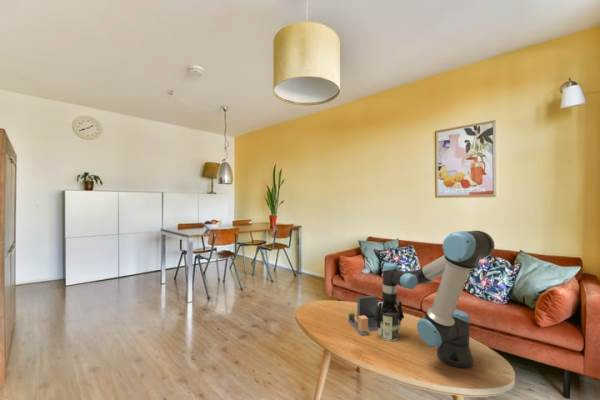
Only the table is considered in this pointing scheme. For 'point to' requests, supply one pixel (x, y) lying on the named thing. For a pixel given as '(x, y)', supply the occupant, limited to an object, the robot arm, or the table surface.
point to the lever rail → (355, 324)
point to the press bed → (368, 310)
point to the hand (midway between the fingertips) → (388, 332)
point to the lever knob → (362, 323)
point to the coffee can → (390, 325)
